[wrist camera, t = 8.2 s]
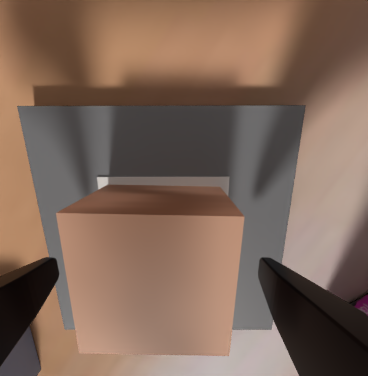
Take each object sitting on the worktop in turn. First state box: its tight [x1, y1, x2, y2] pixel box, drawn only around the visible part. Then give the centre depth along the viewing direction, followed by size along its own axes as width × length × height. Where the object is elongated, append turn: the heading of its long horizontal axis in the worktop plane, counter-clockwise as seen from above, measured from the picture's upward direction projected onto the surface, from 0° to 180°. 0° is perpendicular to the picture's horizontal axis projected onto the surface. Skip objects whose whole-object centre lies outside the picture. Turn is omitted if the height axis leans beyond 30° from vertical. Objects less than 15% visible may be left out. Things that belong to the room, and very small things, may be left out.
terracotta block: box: [56, 184, 244, 356], centre depth 8 cm, size 6×6×4 cm
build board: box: [17, 105, 306, 330], centre depth 11 cm, size 14×14×1 cm
